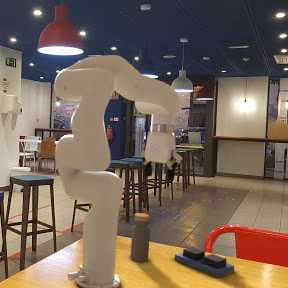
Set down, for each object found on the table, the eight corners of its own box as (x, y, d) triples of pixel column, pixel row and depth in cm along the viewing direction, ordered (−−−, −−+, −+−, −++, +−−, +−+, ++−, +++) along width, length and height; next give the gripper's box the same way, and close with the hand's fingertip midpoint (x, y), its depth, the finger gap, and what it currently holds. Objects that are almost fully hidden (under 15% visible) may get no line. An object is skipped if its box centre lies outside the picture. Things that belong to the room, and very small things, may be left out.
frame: (218, 277, 114) (219, 271, 114) (174, 260, 127) (174, 254, 126) (234, 271, 119) (234, 265, 119) (190, 255, 132) (190, 249, 132)
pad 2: (216, 274, 116) (217, 261, 116) (202, 268, 120) (203, 256, 120) (225, 271, 119) (226, 258, 119) (211, 265, 123) (212, 253, 123)
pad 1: (195, 266, 122) (196, 254, 122) (182, 260, 126) (183, 249, 126) (204, 263, 125) (205, 251, 125) (191, 258, 129) (192, 246, 129)
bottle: (147, 256, 129) (149, 213, 128) (149, 262, 123) (151, 217, 122) (129, 254, 130) (132, 212, 128) (131, 261, 124) (133, 216, 123)
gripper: (136, 128, 135) (133, 175, 137) (176, 131, 122) (172, 183, 123) (149, 128, 140) (147, 174, 141) (190, 131, 126) (186, 181, 127)
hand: (158, 178), depth 132 cm, fingers open, 9 cm apart
